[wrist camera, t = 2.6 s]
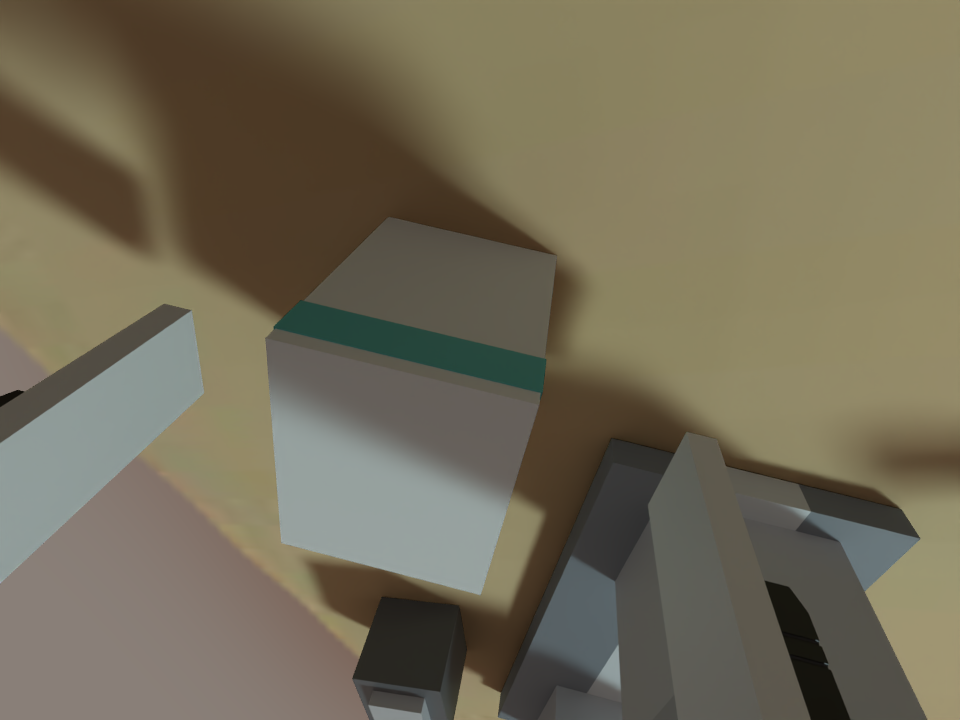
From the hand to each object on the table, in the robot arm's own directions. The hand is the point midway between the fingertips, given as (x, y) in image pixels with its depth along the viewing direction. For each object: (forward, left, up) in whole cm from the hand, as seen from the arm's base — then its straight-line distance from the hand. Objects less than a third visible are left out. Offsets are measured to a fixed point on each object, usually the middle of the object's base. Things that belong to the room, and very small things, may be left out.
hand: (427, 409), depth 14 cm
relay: (+17, +1, -4) cm, 18 cm away
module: (-1, 0, -4) cm, 4 cm away
